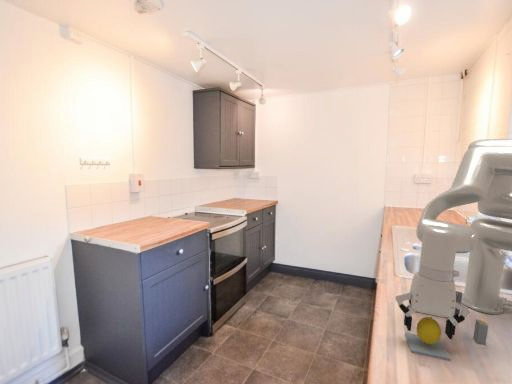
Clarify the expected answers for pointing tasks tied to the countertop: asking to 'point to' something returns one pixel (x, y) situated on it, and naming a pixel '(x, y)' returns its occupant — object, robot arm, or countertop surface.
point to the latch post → (480, 332)
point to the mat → (426, 347)
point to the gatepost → (458, 299)
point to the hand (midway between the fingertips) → (427, 332)
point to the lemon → (428, 330)
